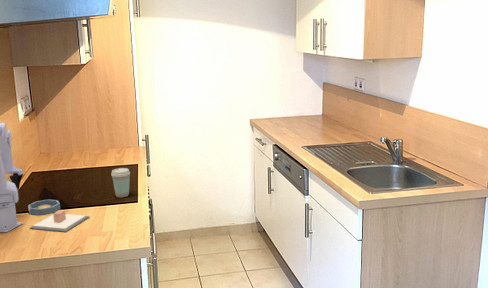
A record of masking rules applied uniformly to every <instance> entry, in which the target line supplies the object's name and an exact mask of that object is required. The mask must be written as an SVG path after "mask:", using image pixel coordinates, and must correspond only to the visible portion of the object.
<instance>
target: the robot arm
mask: <svg viewBox="0 0 488 288" xmlns="http://www.w3.org/2000/svg"><path fill="white" fill-rule="evenodd" d="M6 174H8V175H10V176H9V179H10V181H9V180H8V179H7V175H6ZM23 177H24V169H22V168H17V167H15V165H14V159H13V152H12V131H11V130H10V129H8V128H7V124H6V123H5V122H0V233H8V232H10V231H11V230H14V229H15V228H17V227H20V226H21V225H23V224H24V223H23V221H22V222H21V221H18V218H17V211H16V204H17V203H18V202H19V191H20V185H21V181H22V179H23Z"/></svg>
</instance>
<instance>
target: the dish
mask: <svg viewBox="0 0 488 288" xmlns="http://www.w3.org/2000/svg"><path fill="white" fill-rule="evenodd" d="M27 208H28V212H29V215H35V216H44V215H49V214H53V213H55V212H57V211H59V210H61V203H60V201H59V200H58V199H43V200H37V201H34V202H32V203H30V204H28V205H27Z"/></svg>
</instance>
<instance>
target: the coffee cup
mask: <svg viewBox="0 0 488 288" xmlns="http://www.w3.org/2000/svg"><path fill="white" fill-rule="evenodd" d="M130 174H131V171H130V169H129V168H127V167H119V168H114V169H112V170H111V174H110V175H111V176H110V177H111V178H112V183H113V187H114V188H113V189H114V194H115V196H116V197H117V198H126V197H128V196H129V194H130V179H131V178H130V177H131V175H130Z"/></svg>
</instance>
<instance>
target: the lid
mask: <svg viewBox="0 0 488 288" xmlns="http://www.w3.org/2000/svg"><path fill="white" fill-rule="evenodd" d="M86 216H87V215H83V214H81V215H80V214H71V213H66V210H63V209H60V210H58V211H56V212H54V213H52V215H49V216H48V217H46V218H44V219H43V220H41V221H38V222H37V223H35V224H33V225H32V226H33V227H39V228H49V229H60V230H66V229H68V228H69V227H71V226H72V225H74V224H76V223H77V222H79V221H80V220H82V219H84V218H85V217H86Z"/></svg>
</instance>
